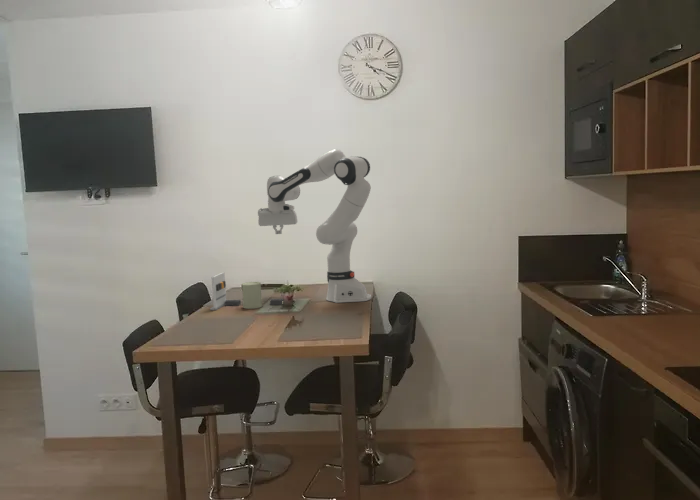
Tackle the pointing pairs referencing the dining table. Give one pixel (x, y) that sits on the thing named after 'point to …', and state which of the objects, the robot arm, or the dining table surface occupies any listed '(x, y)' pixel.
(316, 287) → the dining table surface
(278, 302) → the cover
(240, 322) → the dining table surface
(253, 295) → the can
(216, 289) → the panel
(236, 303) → the cover
